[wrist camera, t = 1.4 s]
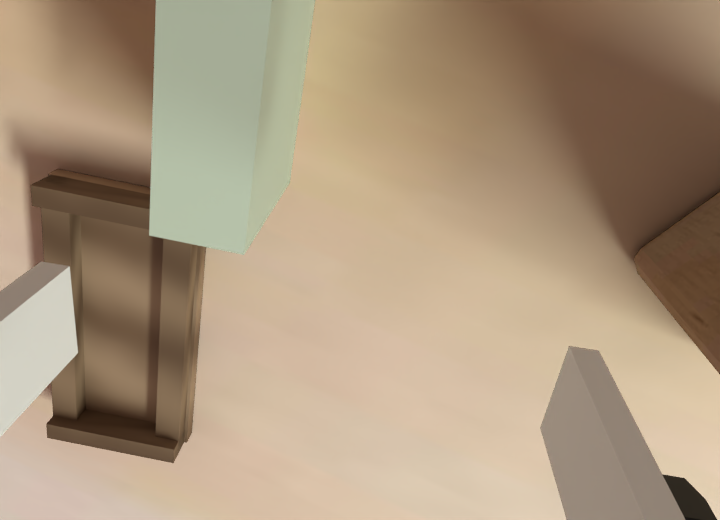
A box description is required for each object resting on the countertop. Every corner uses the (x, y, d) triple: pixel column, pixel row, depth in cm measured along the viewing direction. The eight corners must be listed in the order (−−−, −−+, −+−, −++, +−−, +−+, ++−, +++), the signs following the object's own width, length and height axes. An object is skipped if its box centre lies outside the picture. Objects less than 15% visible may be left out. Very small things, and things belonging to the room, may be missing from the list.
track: (57, 168, 33) (26, 184, 31) (209, 199, 34) (191, 218, 31) (68, 407, 41) (44, 437, 38) (191, 432, 41) (176, 463, 38)
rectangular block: (241, -70, 28) (158, -100, 19) (322, -53, 28) (279, -75, 19) (221, 168, 33) (149, 235, 24) (289, 182, 33) (244, 254, 24)
